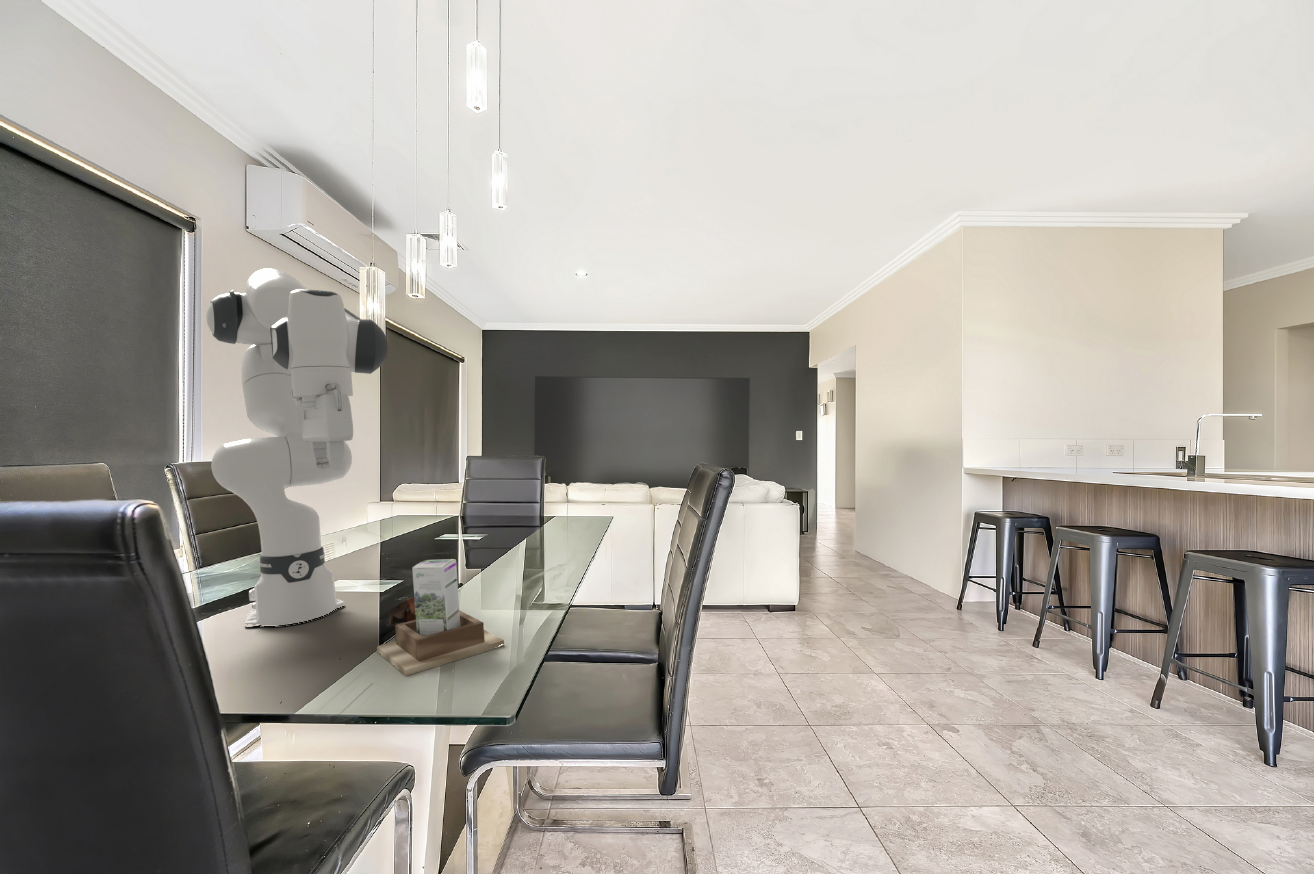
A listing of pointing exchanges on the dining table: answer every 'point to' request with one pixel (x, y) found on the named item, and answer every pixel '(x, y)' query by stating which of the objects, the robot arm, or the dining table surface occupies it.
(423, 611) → the syrup box
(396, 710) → the dining table surface
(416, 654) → the board
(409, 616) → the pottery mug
